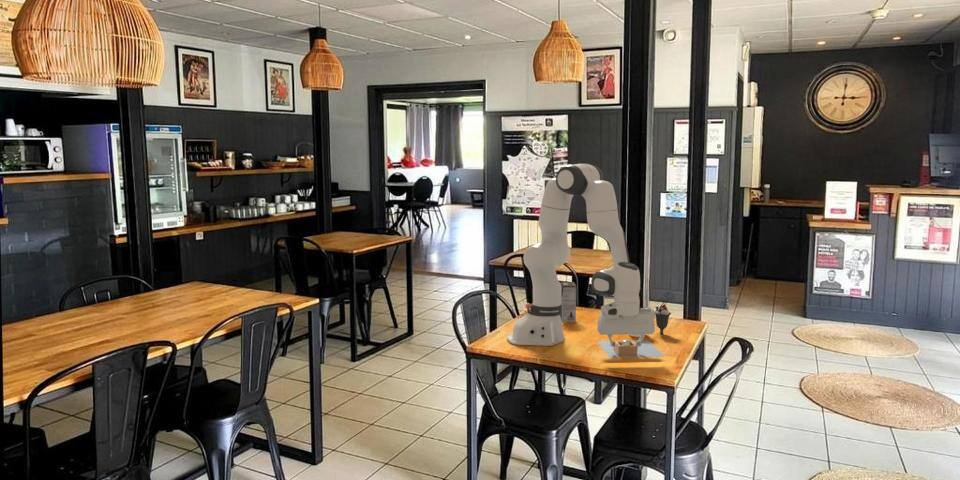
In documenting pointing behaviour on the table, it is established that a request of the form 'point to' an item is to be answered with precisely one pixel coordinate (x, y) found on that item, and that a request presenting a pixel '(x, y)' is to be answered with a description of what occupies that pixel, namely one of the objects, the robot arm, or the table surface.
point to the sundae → (662, 317)
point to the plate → (643, 351)
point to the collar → (625, 349)
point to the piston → (625, 342)
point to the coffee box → (568, 301)
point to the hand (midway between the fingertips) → (625, 345)
